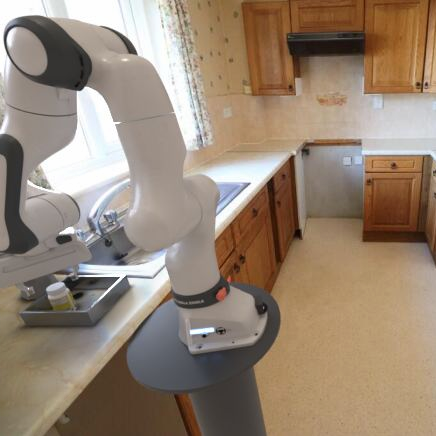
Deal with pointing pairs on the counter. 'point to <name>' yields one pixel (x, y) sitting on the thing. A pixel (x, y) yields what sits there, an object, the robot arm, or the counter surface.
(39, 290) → the coffeepot
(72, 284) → the shallow rectangular grey tray
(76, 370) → the counter surface
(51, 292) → the supplement bottle
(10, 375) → the counter surface
